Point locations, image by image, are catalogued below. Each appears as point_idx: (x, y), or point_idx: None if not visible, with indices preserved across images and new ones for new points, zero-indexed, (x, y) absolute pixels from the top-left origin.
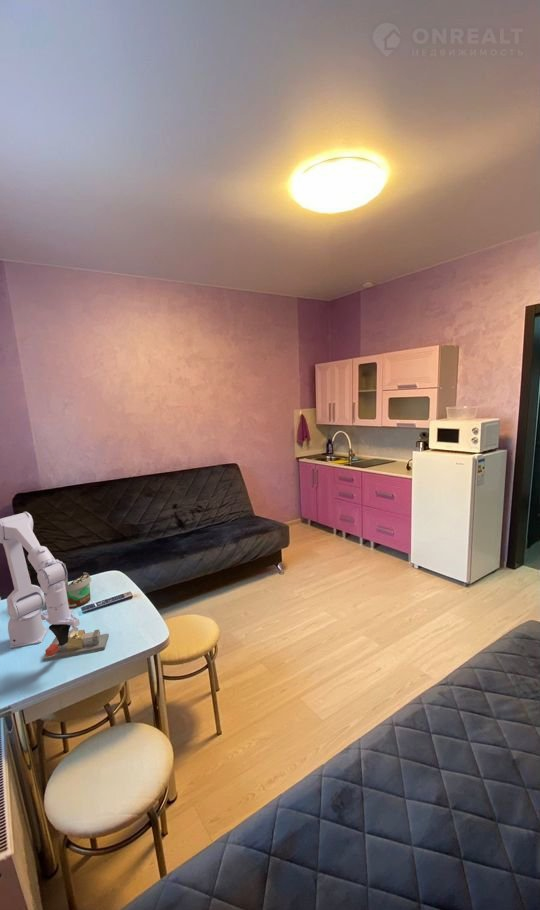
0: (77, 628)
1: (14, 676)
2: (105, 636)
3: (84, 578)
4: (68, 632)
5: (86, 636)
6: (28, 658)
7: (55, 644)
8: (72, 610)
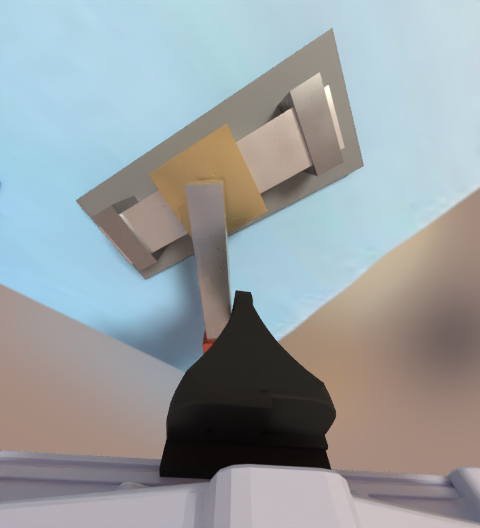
0: (223, 191)
1: (131, 333)
2: (328, 71)
3: None
4: (264, 326)
5: (271, 168)
6: (77, 271)
7: None
8: (355, 519)
